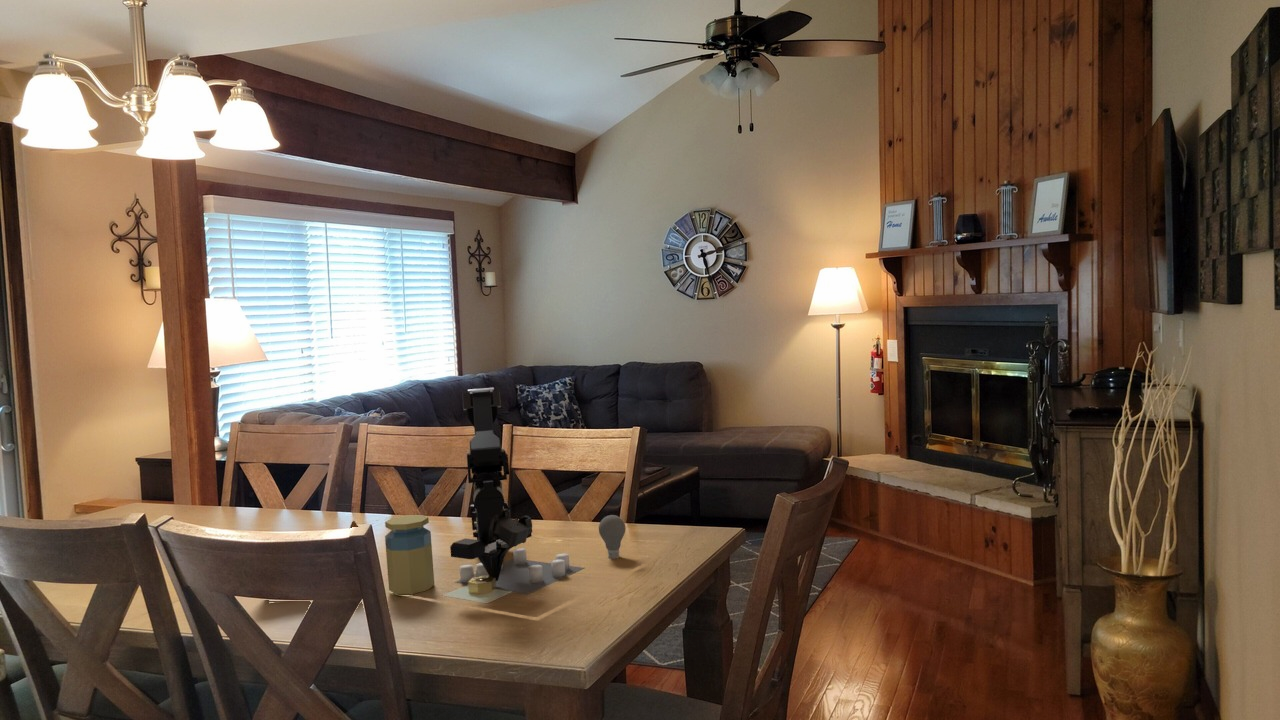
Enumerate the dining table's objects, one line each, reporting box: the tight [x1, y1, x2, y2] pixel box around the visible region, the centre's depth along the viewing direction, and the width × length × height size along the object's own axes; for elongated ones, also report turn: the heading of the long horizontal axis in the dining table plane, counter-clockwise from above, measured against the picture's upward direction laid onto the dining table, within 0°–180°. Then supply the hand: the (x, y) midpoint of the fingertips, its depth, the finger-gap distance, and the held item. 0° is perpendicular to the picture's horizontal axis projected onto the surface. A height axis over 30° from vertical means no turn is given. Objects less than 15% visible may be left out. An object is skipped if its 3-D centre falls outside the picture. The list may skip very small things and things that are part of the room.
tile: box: [442, 584, 512, 604], centre depth 183 cm, size 12×8×1 cm, turn 57°
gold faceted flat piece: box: [468, 576, 496, 595], centre depth 184 cm, size 6×5×2 cm
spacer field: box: [454, 547, 585, 595], centre depth 193 cm, size 20×19×4 cm
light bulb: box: [598, 514, 627, 560], centre depth 203 cm, size 6×6×10 cm
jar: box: [384, 514, 435, 596], centre depth 189 cm, size 9×9×15 cm
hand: (495, 580), depth 187 cm, fingers closed
